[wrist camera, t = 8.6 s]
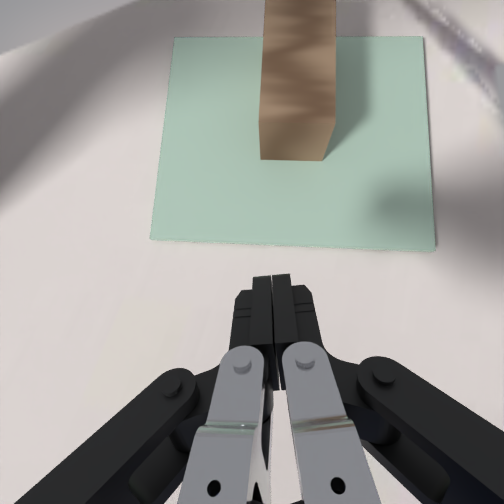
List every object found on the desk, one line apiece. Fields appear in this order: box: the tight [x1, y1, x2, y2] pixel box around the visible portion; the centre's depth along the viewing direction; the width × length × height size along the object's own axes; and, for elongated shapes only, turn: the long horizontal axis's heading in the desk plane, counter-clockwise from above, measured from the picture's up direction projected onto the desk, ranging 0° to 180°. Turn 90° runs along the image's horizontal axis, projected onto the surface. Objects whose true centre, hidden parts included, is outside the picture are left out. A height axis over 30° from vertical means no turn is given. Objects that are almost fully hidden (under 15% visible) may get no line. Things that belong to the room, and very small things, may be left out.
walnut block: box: [258, 0, 336, 161], centre depth 23 cm, size 5×5×11 cm
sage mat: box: [150, 36, 436, 252], centre depth 25 cm, size 22×19×1 cm
